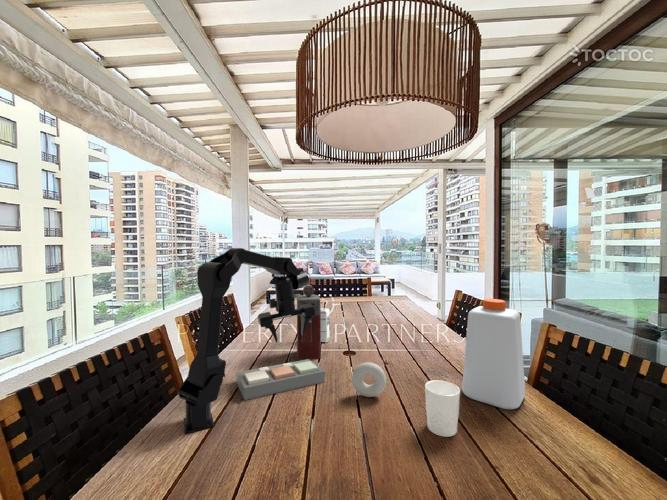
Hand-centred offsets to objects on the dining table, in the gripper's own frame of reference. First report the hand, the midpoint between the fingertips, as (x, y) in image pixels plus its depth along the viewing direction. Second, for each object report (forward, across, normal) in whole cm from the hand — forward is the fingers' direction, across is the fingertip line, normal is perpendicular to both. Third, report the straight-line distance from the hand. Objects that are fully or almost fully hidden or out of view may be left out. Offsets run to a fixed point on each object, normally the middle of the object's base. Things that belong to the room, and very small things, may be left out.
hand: (289, 338), depth 105 cm
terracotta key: (+9, +5, +7) cm, 13 cm away
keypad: (+11, +6, +6) cm, 14 cm away
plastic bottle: (+16, -50, +38) cm, 65 cm away
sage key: (+10, -2, +7) cm, 12 cm away
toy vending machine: (+15, -9, -13) cm, 22 cm away
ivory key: (+7, +13, +8) cm, 17 cm away
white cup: (+12, -24, +45) cm, 53 cm away
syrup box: (+18, -21, -28) cm, 40 cm away
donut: (+12, -16, +25) cm, 32 cm away
